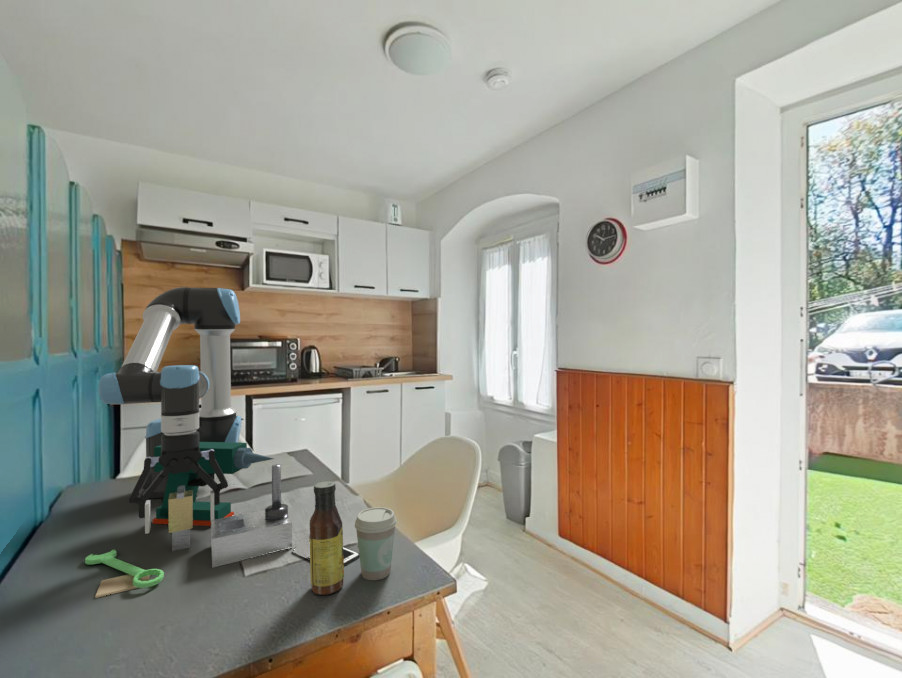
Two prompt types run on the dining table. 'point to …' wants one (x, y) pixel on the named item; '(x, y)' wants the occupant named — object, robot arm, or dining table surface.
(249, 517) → the block
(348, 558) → the cell phone
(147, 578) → the key mat
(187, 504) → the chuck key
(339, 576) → the sauce bottle
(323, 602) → the dining table surface
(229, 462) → the power tool
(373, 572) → the coffee cup
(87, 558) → the wrench
